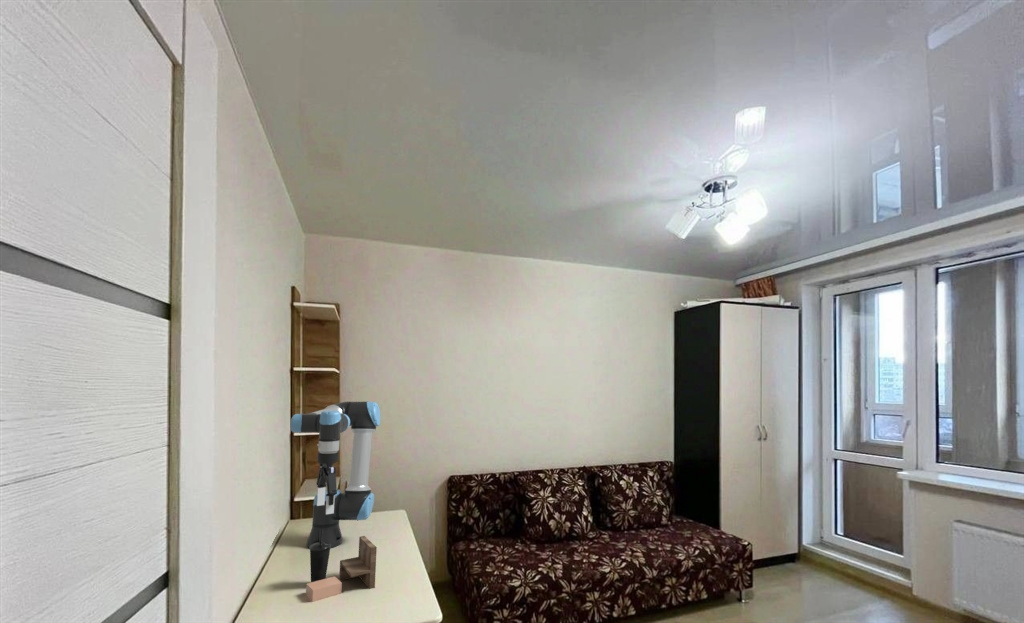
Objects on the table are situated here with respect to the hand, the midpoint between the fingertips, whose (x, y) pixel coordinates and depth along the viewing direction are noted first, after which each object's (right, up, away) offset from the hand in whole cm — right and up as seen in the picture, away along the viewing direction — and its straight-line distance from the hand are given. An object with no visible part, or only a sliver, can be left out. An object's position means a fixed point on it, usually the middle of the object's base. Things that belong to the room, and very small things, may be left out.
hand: (324, 509), depth 181 cm
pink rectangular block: (+4, -26, -11) cm, 28 cm away
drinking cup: (-1, -27, -4) cm, 27 cm away
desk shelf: (+12, -27, -2) cm, 30 cm away
